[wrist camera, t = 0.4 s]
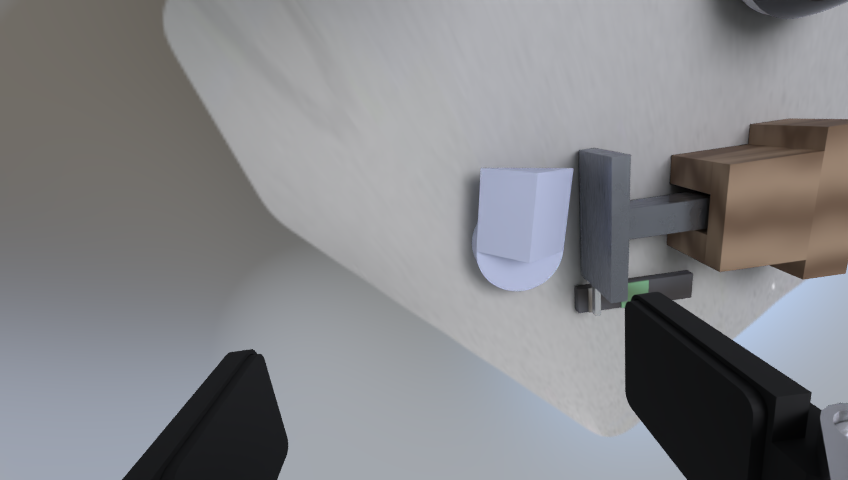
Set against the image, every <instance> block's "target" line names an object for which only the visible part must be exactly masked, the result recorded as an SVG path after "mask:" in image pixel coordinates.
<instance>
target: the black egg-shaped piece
mask: <svg viewBox="0 0 848 480" xmlns="http://www.w3.org/2000/svg"><path fill="white" fill-rule="evenodd" d="M743 1H744V2H745V3H746V4H747V5H748V6H749V7H750V8H752V9H754V10H756V11H757V12H760V13H763V14H767V15H771V16H774V17H778V18H783V19H795V18H801V17H806V16H810V15H813V14H817V13H820V12H823V11H826V10H828V9H831V8H834V7H836V6H839V5H841V4H844V3H846V2H848V0H743Z"/></svg>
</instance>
